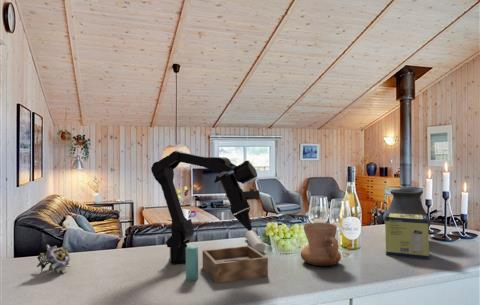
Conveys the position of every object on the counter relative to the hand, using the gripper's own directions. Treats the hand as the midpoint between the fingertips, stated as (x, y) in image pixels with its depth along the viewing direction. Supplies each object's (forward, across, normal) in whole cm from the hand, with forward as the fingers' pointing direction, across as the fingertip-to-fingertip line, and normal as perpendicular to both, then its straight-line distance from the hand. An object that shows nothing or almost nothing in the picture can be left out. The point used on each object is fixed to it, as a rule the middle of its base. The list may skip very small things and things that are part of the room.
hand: (250, 229), depth 119 cm
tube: (+9, +34, +3) cm, 35 cm away
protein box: (+36, +22, -52) cm, 67 cm away
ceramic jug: (+23, +9, -18) cm, 30 cm away
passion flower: (-15, -3, +69) cm, 70 cm away
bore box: (+10, 0, +11) cm, 15 cm away
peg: (+6, -7, +24) cm, 25 cm away
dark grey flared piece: (+37, +46, -64) cm, 87 cm away
